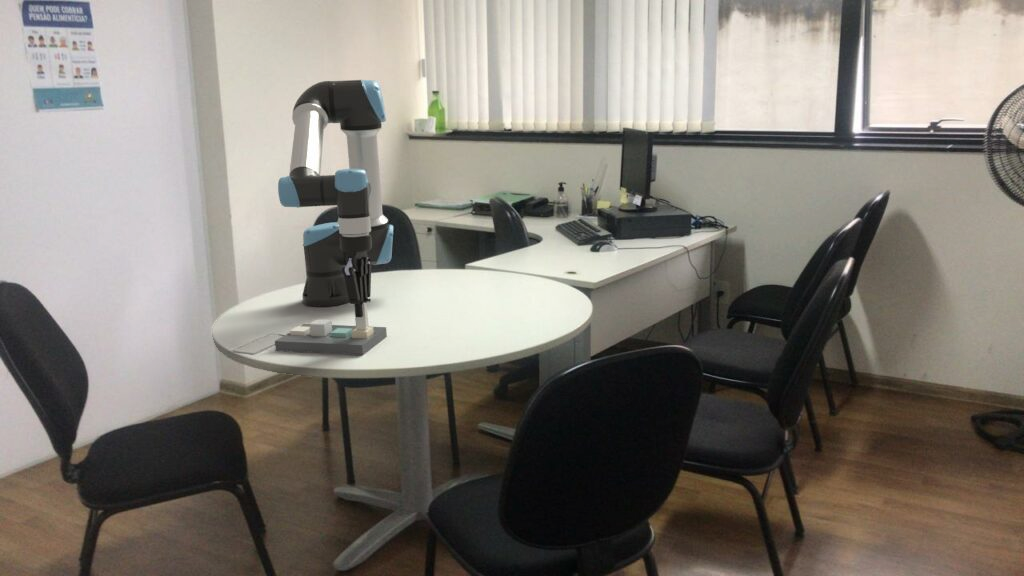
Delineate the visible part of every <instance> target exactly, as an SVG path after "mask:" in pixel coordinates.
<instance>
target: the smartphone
mask: <svg viewBox="0 0 1024 576" xmlns="http://www.w3.org/2000/svg"><path fill="white" fill-rule="evenodd" d="M284 335H285V334H279V333H269V334H267V335H265V336H263V337H260V338H258V339H255V340H253V341H251V342H248V343H246V344H244V345H242V346H238V347H237V348H235V349H233V350H232V353H236V354H237V353H238V354H244V353H245V354H246V355H257V354H260V353H262V352H264V351H266V350H268V349H271V348H273V347H275V341H276V340H277V339H279V338H281V337H283V336H284Z"/></svg>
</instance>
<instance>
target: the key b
mask: <svg viewBox="0 0 1024 576" xmlns="http://www.w3.org/2000/svg"><path fill="white" fill-rule="evenodd" d="M332 323H333V322H332V319H316V320H314V321H312V322H311V323H308V324H309V326H310V336H323V337H325V336H327V335H328V334H330V333H331V332H332V325H333V324H332Z"/></svg>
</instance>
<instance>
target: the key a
mask: <svg viewBox="0 0 1024 576" xmlns="http://www.w3.org/2000/svg"><path fill="white" fill-rule="evenodd" d="M289 332H290V335H298V336H306V335H307V334H309V333H310V327H304V326H301V325H300V326H299V325H297V326H295V327H294V328H292V329H289Z"/></svg>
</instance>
